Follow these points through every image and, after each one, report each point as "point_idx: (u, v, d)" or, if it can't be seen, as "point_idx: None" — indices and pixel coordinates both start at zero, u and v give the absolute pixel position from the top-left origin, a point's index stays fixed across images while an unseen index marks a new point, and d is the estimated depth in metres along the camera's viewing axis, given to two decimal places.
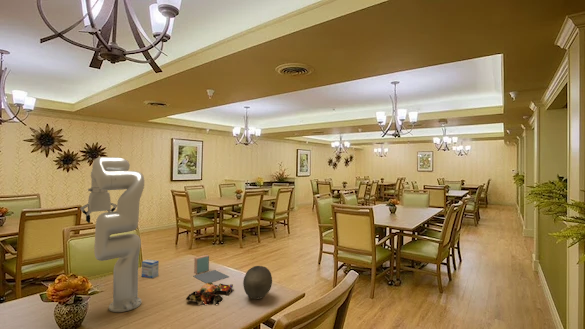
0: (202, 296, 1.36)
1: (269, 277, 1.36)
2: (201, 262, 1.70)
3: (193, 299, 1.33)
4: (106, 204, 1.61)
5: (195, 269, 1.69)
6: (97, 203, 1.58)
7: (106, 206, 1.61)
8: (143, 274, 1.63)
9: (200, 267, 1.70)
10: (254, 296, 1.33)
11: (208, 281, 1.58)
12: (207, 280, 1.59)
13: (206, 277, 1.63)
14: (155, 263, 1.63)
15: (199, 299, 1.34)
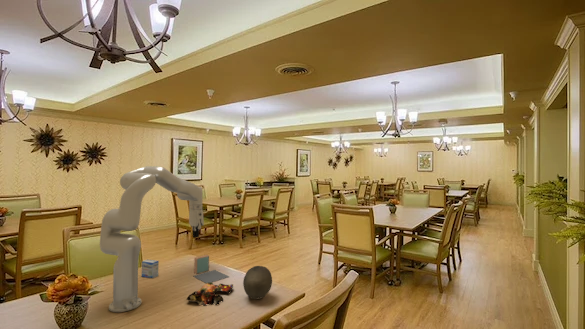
0: (202, 296, 1.36)
1: (269, 277, 1.36)
2: (201, 262, 1.70)
3: (194, 299, 1.33)
4: None
5: (195, 269, 1.69)
6: None
7: None
8: (143, 274, 1.63)
9: (200, 267, 1.70)
10: (254, 296, 1.33)
11: (208, 281, 1.58)
12: (207, 280, 1.59)
13: (206, 277, 1.63)
14: (155, 263, 1.63)
15: (200, 299, 1.34)
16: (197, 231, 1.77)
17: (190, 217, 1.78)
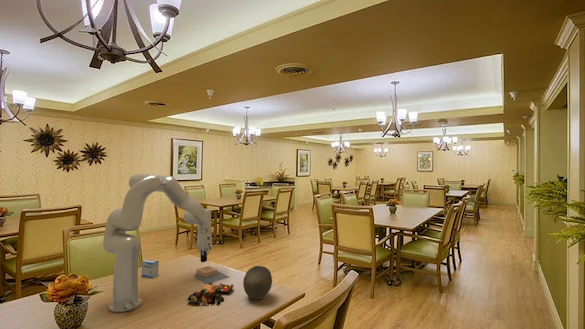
0: (203, 296, 1.35)
1: (269, 277, 1.36)
2: None
3: (194, 299, 1.32)
4: None
5: (198, 272, 1.67)
6: None
7: None
8: (143, 274, 1.63)
9: None
10: (254, 296, 1.33)
11: (208, 281, 1.58)
12: (207, 280, 1.59)
13: (206, 277, 1.63)
14: (155, 263, 1.63)
15: (200, 299, 1.34)
16: (205, 255, 1.70)
17: (198, 241, 1.71)
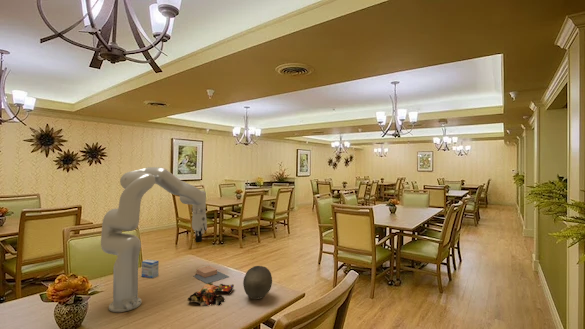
0: (204, 297, 1.35)
1: (269, 277, 1.36)
2: None
3: (195, 300, 1.32)
4: None
5: (198, 272, 1.67)
6: None
7: None
8: (143, 274, 1.63)
9: None
10: (254, 296, 1.33)
11: (208, 281, 1.58)
12: (207, 280, 1.59)
13: (206, 277, 1.63)
14: (155, 263, 1.63)
15: (201, 300, 1.34)
16: (200, 236, 1.74)
17: (193, 221, 1.75)
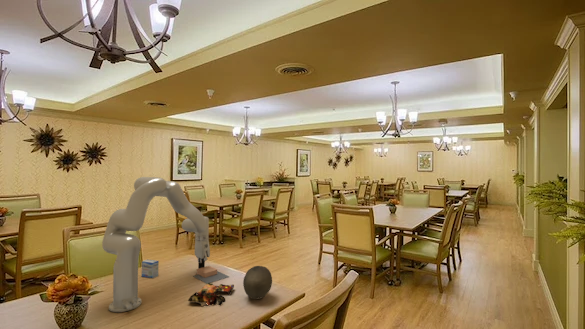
0: (204, 297, 1.35)
1: (269, 277, 1.36)
2: None
3: (196, 300, 1.32)
4: None
5: (198, 272, 1.67)
6: None
7: None
8: (143, 274, 1.63)
9: None
10: (254, 296, 1.33)
11: (208, 281, 1.58)
12: (207, 280, 1.59)
13: (206, 277, 1.63)
14: (155, 263, 1.63)
15: (202, 300, 1.33)
16: (203, 263, 1.72)
17: (196, 248, 1.72)
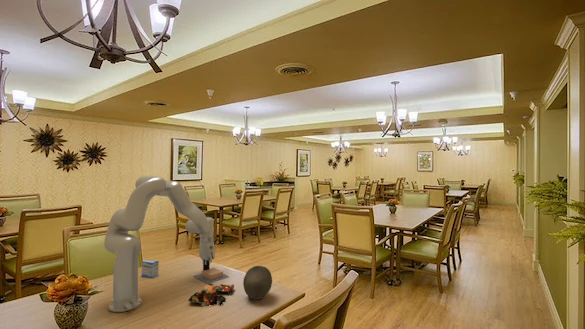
0: (205, 297, 1.35)
1: (269, 277, 1.36)
2: None
3: (196, 300, 1.32)
4: None
5: (204, 274, 1.63)
6: None
7: None
8: (143, 274, 1.63)
9: None
10: (254, 296, 1.33)
11: (208, 281, 1.58)
12: (207, 280, 1.59)
13: None
14: (155, 263, 1.63)
15: (202, 300, 1.33)
16: (208, 265, 1.68)
17: (200, 250, 1.69)
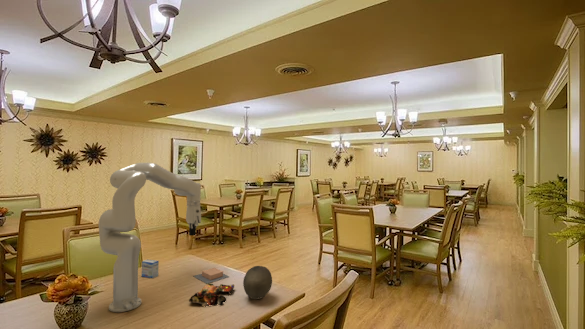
0: (205, 297, 1.35)
1: (269, 277, 1.36)
2: None
3: (196, 300, 1.32)
4: None
5: (204, 274, 1.63)
6: None
7: None
8: (143, 274, 1.63)
9: None
10: (254, 296, 1.33)
11: (208, 281, 1.58)
12: (207, 280, 1.59)
13: None
14: (155, 263, 1.63)
15: (202, 300, 1.33)
16: (194, 229, 1.70)
17: (187, 214, 1.71)
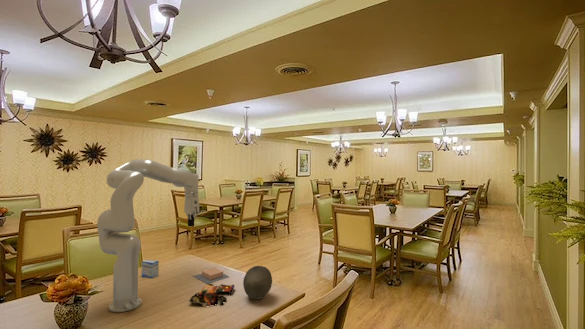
0: (205, 297, 1.35)
1: (269, 277, 1.36)
2: None
3: (197, 301, 1.31)
4: None
5: (204, 274, 1.63)
6: None
7: None
8: (143, 274, 1.63)
9: None
10: (254, 296, 1.33)
11: (208, 281, 1.58)
12: (207, 280, 1.59)
13: None
14: (155, 263, 1.63)
15: (203, 300, 1.33)
16: (192, 220, 1.71)
17: (185, 205, 1.71)
